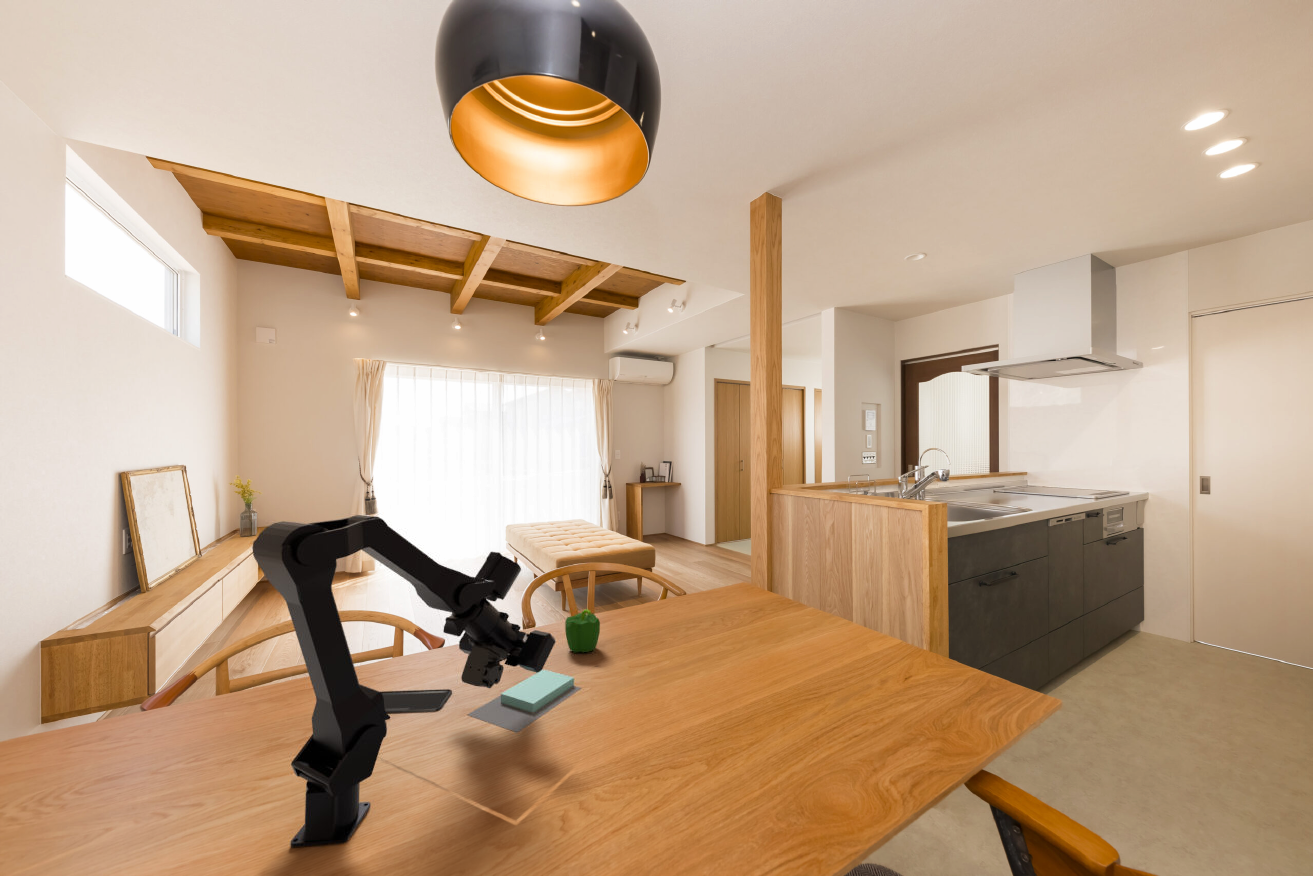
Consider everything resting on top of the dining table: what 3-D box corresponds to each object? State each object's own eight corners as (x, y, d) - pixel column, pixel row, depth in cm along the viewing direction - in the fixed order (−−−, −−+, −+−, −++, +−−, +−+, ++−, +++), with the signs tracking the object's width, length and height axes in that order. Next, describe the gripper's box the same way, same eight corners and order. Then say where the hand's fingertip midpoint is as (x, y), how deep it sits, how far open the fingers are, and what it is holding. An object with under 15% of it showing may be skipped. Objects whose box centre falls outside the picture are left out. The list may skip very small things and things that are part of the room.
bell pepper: (561, 646, 121) (561, 605, 121) (593, 641, 124) (593, 601, 125) (570, 659, 113) (570, 615, 113) (604, 653, 117) (604, 611, 117)
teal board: (533, 703, 89) (574, 677, 99) (500, 693, 92) (543, 669, 103) (533, 712, 89) (573, 685, 99) (500, 702, 92) (543, 677, 103)
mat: (517, 734, 82) (517, 732, 82) (466, 717, 88) (466, 714, 88) (581, 690, 98) (581, 688, 98) (535, 677, 104) (535, 675, 104)
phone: (374, 691, 96) (453, 689, 97) (374, 697, 96) (453, 694, 97) (353, 712, 88) (439, 709, 89) (352, 719, 88) (439, 715, 89)
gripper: (417, 658, 83) (469, 696, 92) (498, 682, 74) (546, 721, 84) (457, 599, 90) (500, 640, 100) (534, 614, 82) (574, 658, 91)
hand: (528, 664), depth 93 cm, fingers closed
